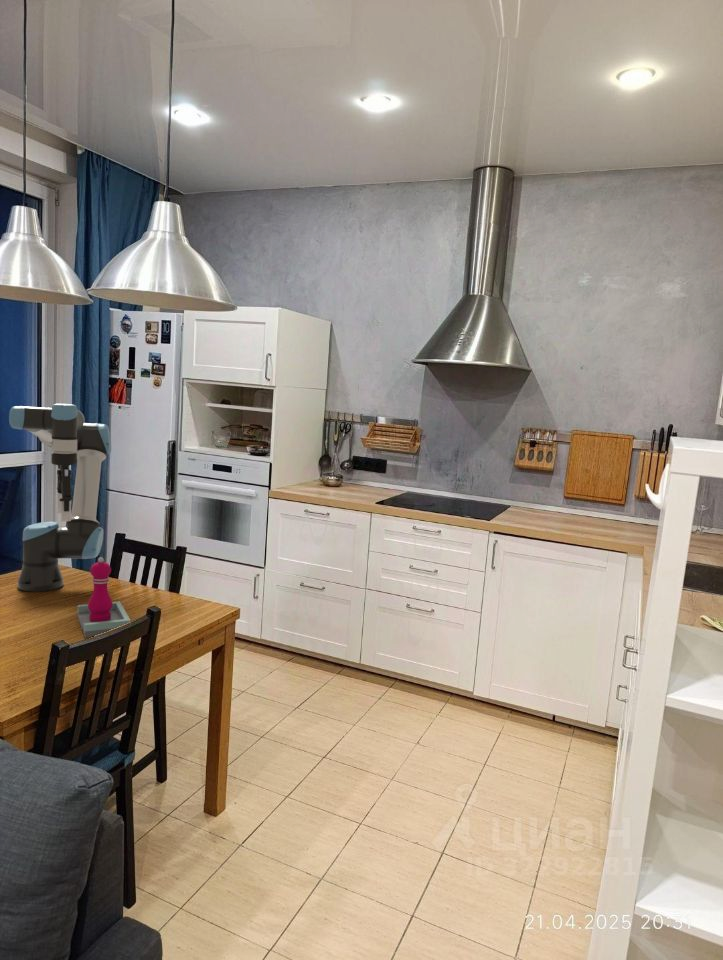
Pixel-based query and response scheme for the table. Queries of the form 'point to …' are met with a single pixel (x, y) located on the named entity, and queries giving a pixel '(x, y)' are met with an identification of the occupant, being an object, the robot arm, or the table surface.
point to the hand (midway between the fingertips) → (63, 516)
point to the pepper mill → (100, 592)
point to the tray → (95, 628)
